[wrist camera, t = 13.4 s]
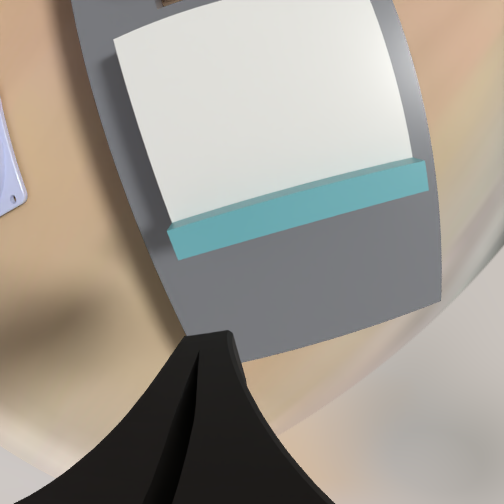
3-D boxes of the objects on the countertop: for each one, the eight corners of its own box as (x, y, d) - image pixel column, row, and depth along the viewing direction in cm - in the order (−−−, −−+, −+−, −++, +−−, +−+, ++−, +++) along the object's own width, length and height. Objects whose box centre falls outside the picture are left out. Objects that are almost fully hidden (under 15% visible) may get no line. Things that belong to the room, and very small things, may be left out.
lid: (186, 239, 14) (178, 260, 12) (123, 45, 10) (103, 33, 8) (403, 179, 13) (428, 190, 11) (352, -10, 10) (370, -29, 8)
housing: (207, 343, 19) (204, 371, 17) (79, -50, 10) (60, -67, 7) (421, 281, 18) (441, 301, 16) (311, -109, 9) (320, -131, 6)
